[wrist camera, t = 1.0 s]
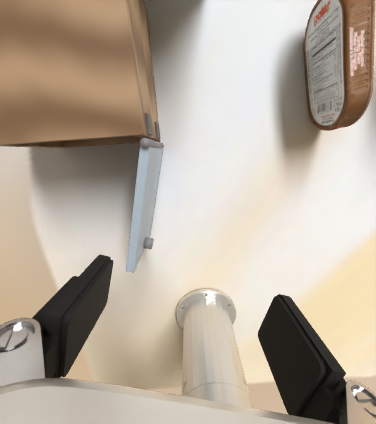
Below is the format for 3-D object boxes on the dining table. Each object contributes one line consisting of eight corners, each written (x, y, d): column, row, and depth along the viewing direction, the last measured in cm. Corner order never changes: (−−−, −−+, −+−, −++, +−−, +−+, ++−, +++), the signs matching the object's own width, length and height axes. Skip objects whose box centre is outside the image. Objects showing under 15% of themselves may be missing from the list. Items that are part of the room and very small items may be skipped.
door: (171, 145, 29) (162, 141, 19) (156, 236, 34) (142, 275, 23) (157, 142, 29) (140, 136, 18) (144, 234, 34) (125, 272, 23)
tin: (326, 129, 29) (379, 121, 21) (305, 135, 29) (350, 129, 21) (320, 10, 25) (384, -58, 17) (296, 19, 25) (347, -44, 17)
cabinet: (162, 140, 29) (145, 134, 18) (60, 147, 30) (-18, 145, 18) (149, 11, 24) (115, -111, 13) (27, 21, 25) (-109, -90, 13)
